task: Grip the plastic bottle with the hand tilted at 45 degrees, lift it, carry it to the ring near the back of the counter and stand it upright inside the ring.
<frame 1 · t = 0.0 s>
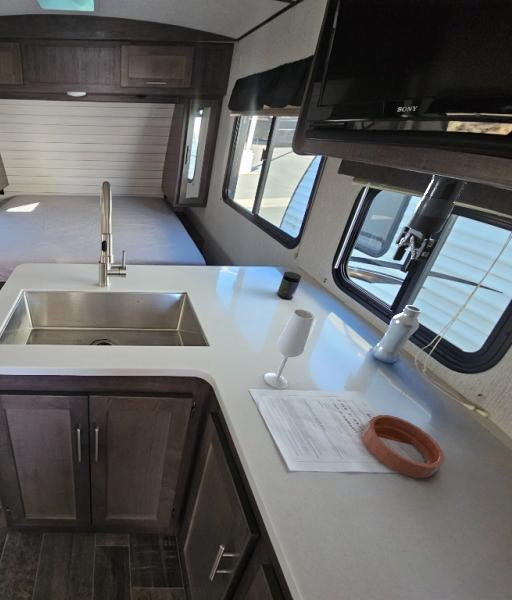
hand: (402, 265, 99), 30 cm above the worktop, tool pointing down, fingers open, 8 cm apart
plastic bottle: (382, 359, 107), on the worktop
ring: (393, 453, 76), on the worktop
supplement container: (284, 296, 142), on the worktop
champagne flute: (275, 381, 96), on the worktop
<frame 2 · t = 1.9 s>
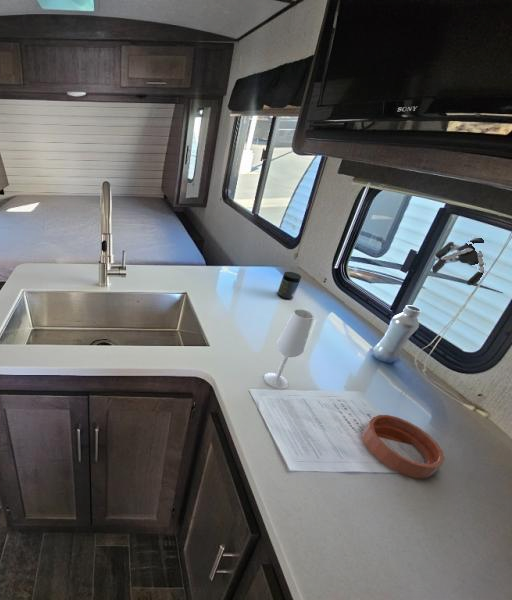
hand: (450, 277, 96), 29 cm above the worktop, tool tilted 45°, fingers open, 8 cm apart
nothing on the worktop moved.
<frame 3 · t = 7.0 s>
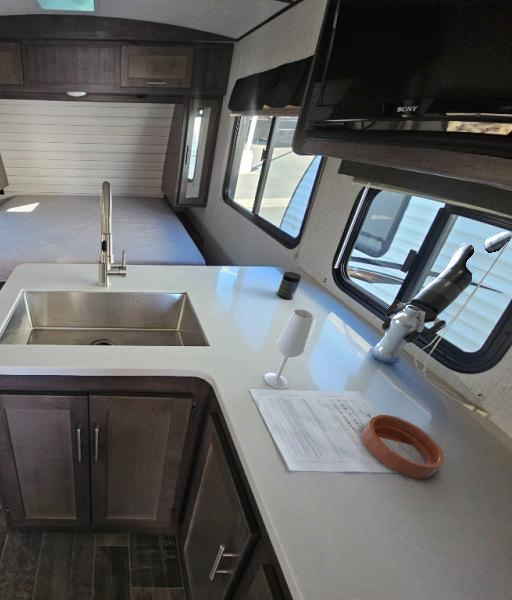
hand: (394, 335, 101), 10 cm above the worktop, tool tilted 45°, fingers closed on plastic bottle, 6 cm apart
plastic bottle: (382, 359, 107), on the worktop, touching gripper
everything else where it was.
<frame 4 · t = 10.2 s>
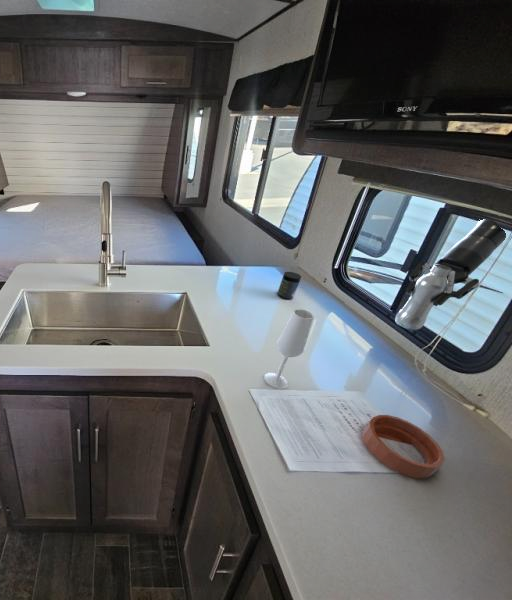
hand: (420, 298, 92), 25 cm above the worktop, tool tilted 45°, fingers closed on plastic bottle, 6 cm apart
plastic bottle: (405, 326, 98), point 14 cm above the worktop, touching gripper
everything else where it was.
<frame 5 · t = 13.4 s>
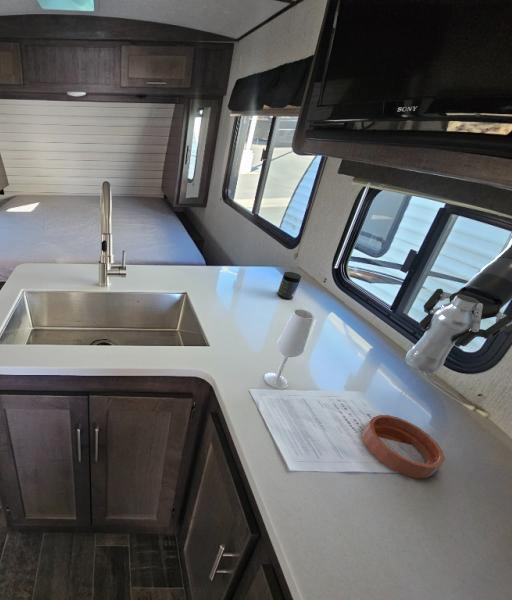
hand: (438, 336, 74), 26 cm above the worktop, tool tilted 45°, fingers closed on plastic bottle, 6 cm apart
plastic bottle: (418, 368, 80), point 15 cm above the worktop, touching gripper
everything else where it was.
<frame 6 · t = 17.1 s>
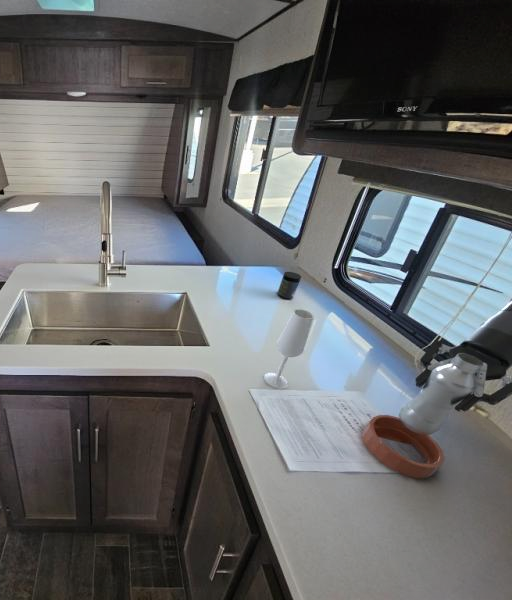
hand: (436, 396, 66), 20 cm above the worktop, tool tilted 45°, fingers closed on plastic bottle, 6 cm apart
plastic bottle: (413, 426, 72), point 9 cm above the worktop, touching gripper
everything else where it was.
when the fingers open (11 cm above the worktop, at t = 20.1 s): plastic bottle stays where it is, resting on ring.
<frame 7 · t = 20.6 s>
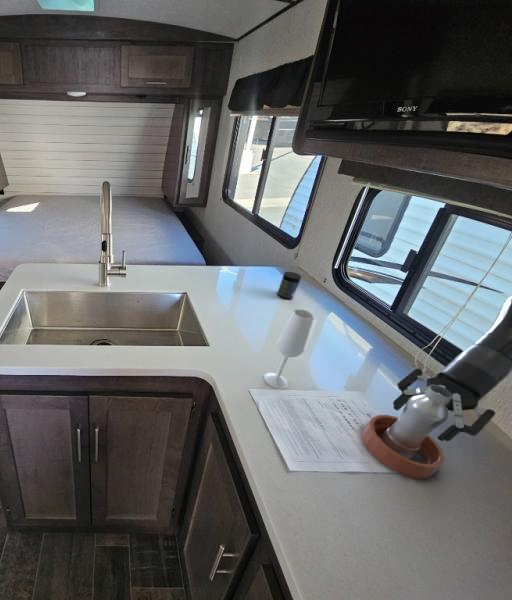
hand: (416, 423, 70), 12 cm above the worktop, tool tilted 45°, fingers open, 8 cm apart
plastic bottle: (393, 451, 77), resting on ring
everything else where it was.
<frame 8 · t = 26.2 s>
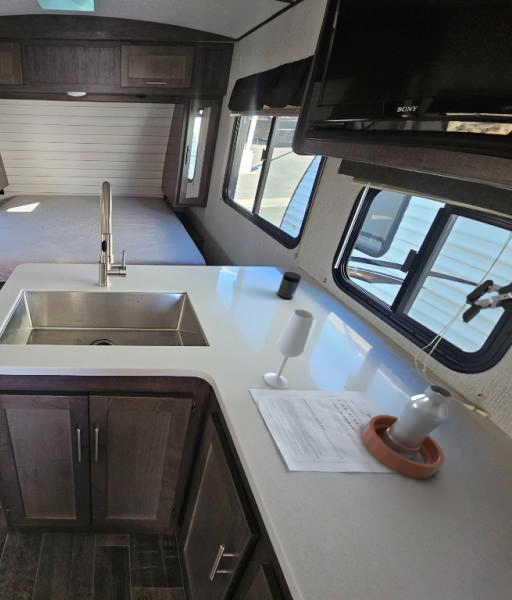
hand: (490, 331, 68), 31 cm above the worktop, tool tilted 45°, fingers open, 8 cm apart
nothing on the worktop moved.
at the end: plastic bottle inside the target area in the ring (0.4 cm from its centre), point 0.4 cm above the ring's base; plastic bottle tilted 0°; the gripper is holding nothing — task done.
